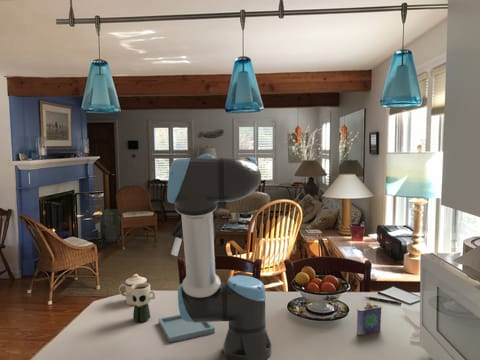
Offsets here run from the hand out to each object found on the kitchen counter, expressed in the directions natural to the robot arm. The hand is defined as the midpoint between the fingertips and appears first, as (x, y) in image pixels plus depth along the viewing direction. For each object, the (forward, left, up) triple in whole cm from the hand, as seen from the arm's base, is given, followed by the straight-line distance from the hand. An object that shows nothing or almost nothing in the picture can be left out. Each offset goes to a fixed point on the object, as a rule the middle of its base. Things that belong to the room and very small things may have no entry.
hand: (186, 256), depth 140 cm
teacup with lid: (+31, +15, -26) cm, 43 cm away
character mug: (+12, +15, -26) cm, 32 cm away
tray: (-2, +2, -25) cm, 25 cm away
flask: (-33, -54, -26) cm, 69 cm away
